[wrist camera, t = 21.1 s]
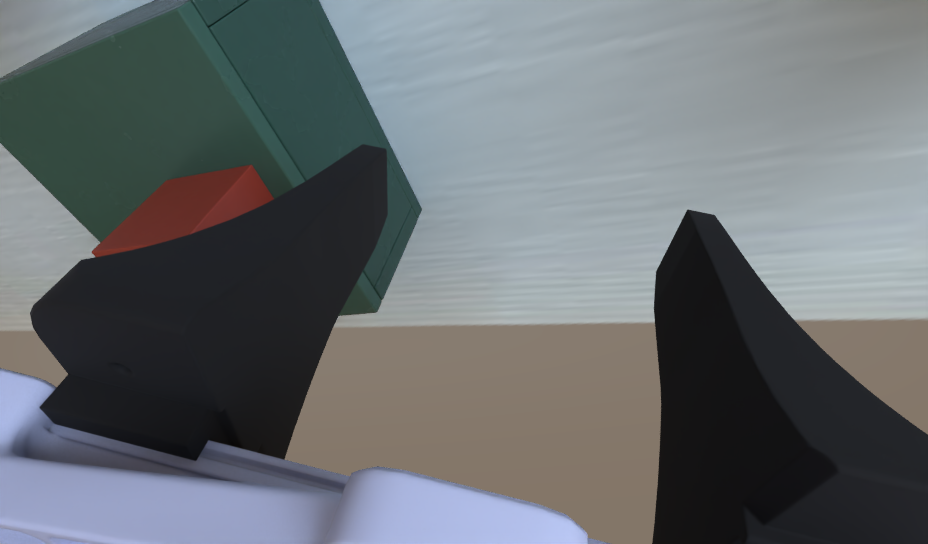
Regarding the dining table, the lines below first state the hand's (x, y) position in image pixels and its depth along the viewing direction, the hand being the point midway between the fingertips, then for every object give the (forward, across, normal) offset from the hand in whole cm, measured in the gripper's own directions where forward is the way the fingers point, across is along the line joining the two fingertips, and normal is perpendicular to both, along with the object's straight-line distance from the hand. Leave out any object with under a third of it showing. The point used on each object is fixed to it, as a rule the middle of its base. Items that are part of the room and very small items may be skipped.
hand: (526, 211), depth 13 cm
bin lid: (+4, +13, +6) cm, 15 cm away
